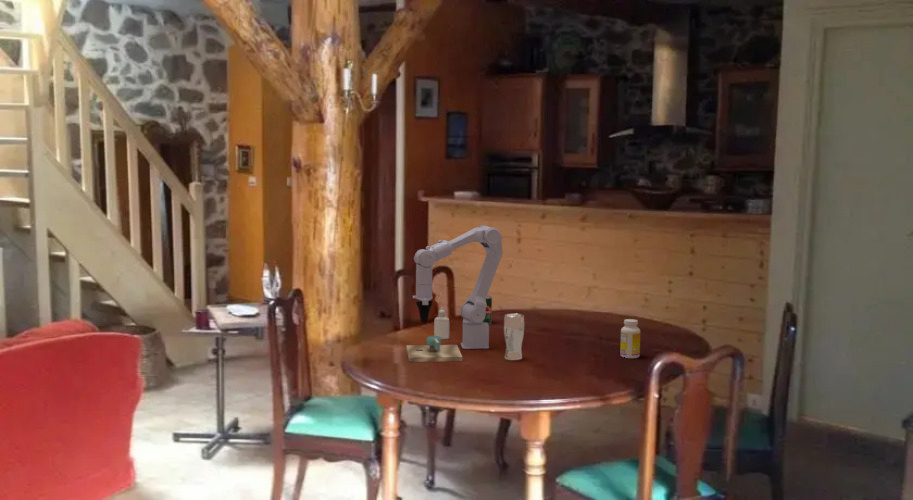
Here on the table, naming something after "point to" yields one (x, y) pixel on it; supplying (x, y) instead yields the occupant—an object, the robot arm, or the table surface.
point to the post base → (433, 353)
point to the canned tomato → (488, 310)
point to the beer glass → (513, 335)
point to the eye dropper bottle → (441, 325)
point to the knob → (434, 341)
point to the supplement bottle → (630, 339)
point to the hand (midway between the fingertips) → (423, 321)
